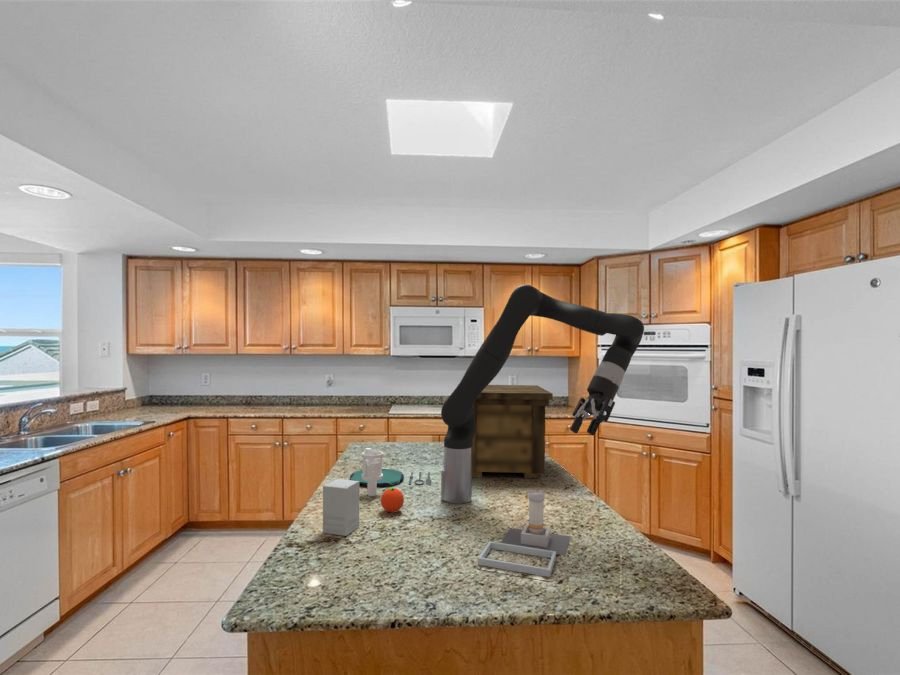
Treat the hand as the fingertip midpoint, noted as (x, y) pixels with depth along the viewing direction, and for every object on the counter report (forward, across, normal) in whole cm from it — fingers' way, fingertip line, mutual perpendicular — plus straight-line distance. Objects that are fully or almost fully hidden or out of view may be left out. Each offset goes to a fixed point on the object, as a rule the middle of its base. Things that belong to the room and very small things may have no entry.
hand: (581, 432), depth 131 cm
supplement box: (+54, -21, -40) cm, 70 cm away
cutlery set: (+39, -65, -24) cm, 80 cm away
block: (+31, +1, +1) cm, 31 cm away
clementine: (+45, -32, -27) cm, 61 cm away
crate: (+14, -71, +14) cm, 73 cm away
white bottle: (+30, +1, +1) cm, 30 cm away
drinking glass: (+45, -49, -31) cm, 74 cm away
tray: (+37, +11, -6) cm, 39 cm away
